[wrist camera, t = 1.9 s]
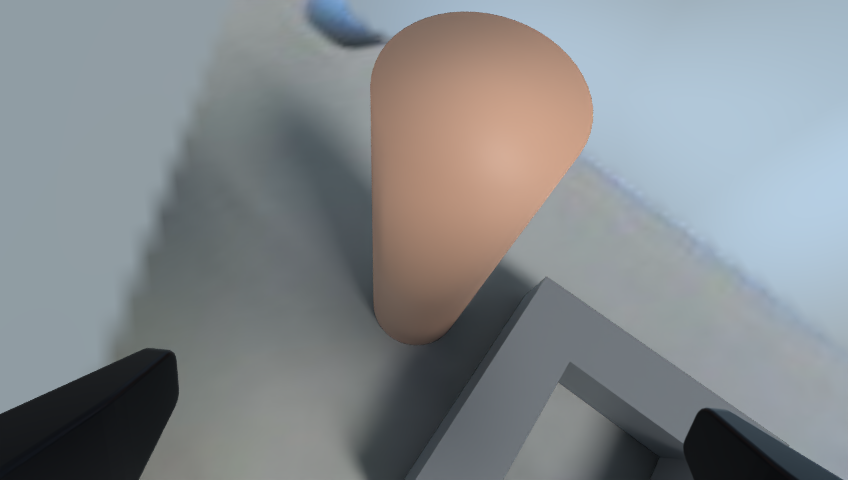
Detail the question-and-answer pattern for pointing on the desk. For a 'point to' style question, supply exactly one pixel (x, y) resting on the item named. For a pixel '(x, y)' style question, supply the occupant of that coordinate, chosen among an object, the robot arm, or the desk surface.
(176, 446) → the desk surface
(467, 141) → the peg
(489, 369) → the socket block
